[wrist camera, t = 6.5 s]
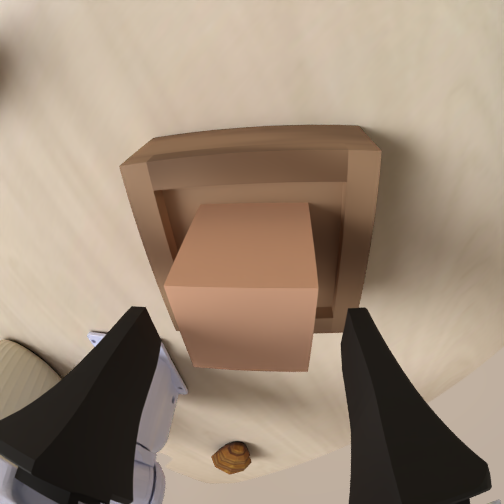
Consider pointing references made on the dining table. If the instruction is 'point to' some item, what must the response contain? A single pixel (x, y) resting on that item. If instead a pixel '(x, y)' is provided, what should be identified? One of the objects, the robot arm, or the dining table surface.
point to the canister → (22, 378)
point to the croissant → (232, 458)
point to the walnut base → (264, 196)
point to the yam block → (246, 287)
